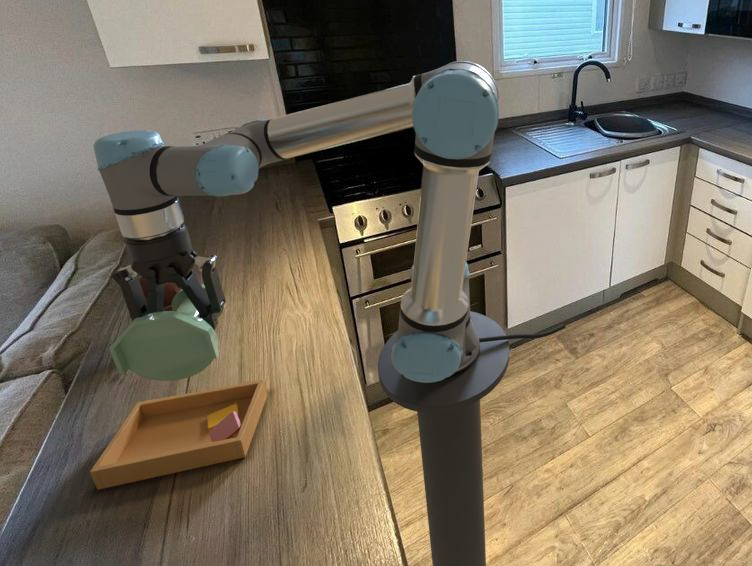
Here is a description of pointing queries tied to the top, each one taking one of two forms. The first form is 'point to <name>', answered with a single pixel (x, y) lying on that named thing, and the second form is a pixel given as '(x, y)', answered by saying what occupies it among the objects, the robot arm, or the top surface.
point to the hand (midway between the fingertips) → (192, 348)
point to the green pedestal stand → (167, 343)
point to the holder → (178, 434)
